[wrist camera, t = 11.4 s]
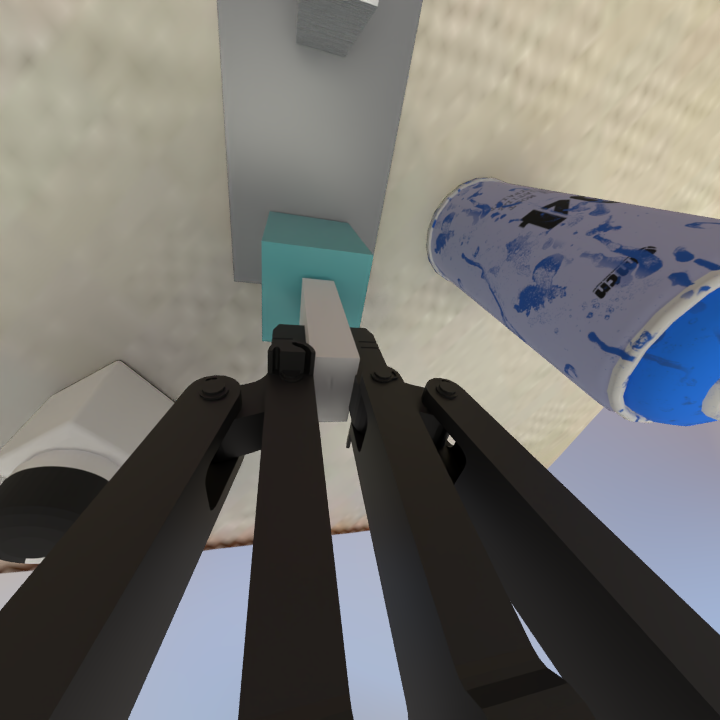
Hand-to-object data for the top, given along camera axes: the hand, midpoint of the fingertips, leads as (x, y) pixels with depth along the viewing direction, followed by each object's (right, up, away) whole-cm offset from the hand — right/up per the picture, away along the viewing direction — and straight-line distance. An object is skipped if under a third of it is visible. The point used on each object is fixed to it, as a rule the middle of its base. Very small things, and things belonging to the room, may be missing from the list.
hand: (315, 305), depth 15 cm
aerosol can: (+11, +7, +9) cm, 16 cm away
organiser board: (-1, +10, +4) cm, 11 cm away
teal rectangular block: (-2, +5, +7) cm, 8 cm away
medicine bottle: (-19, -6, +12) cm, 23 cm away
